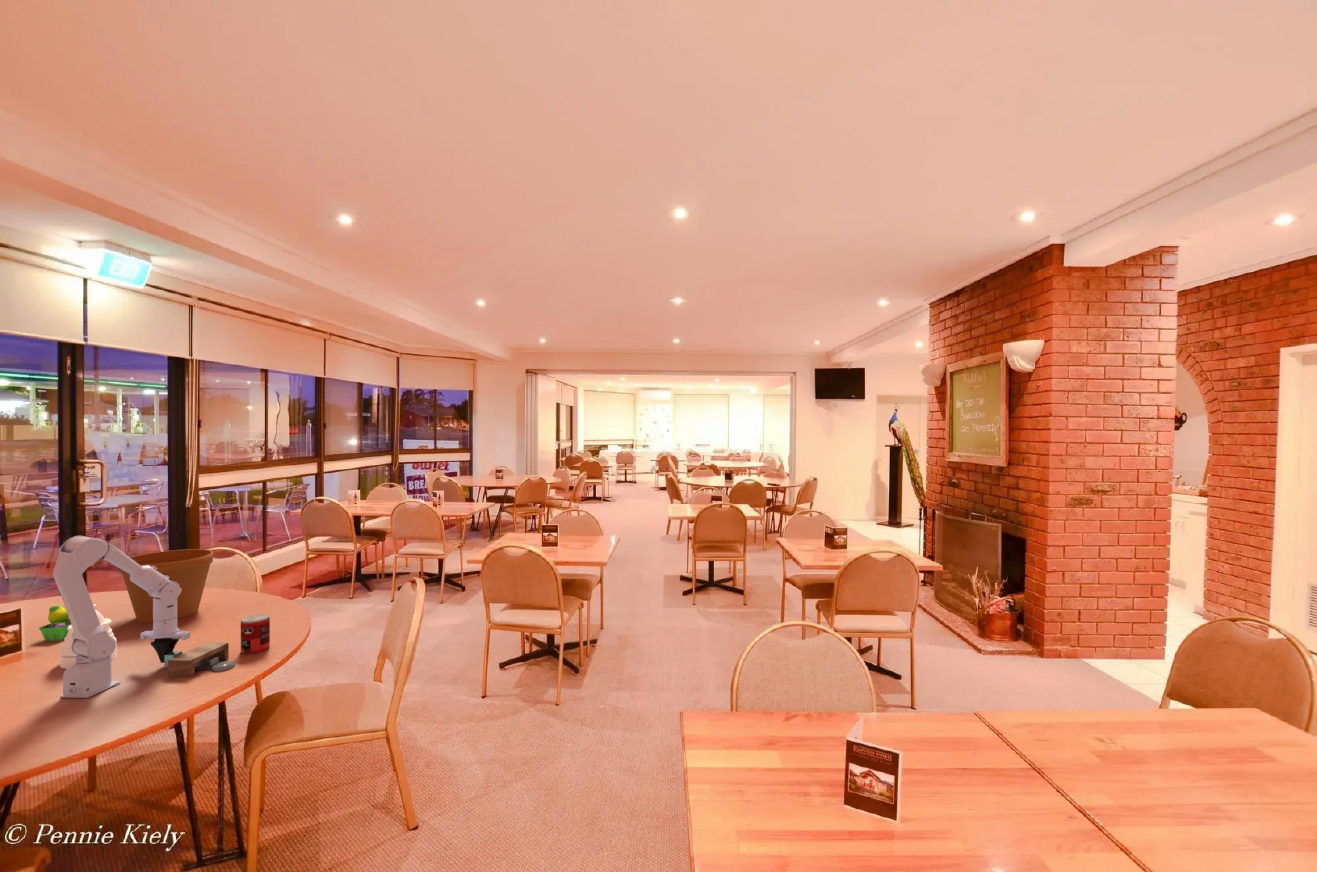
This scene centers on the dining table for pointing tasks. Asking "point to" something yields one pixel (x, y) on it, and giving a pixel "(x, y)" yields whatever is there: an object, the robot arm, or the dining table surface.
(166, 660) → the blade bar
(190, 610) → the flowerpot
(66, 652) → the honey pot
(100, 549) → the robot arm
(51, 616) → the fruit basket
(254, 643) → the canned food
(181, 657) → the wooden bridge block
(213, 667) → the slate coaster
